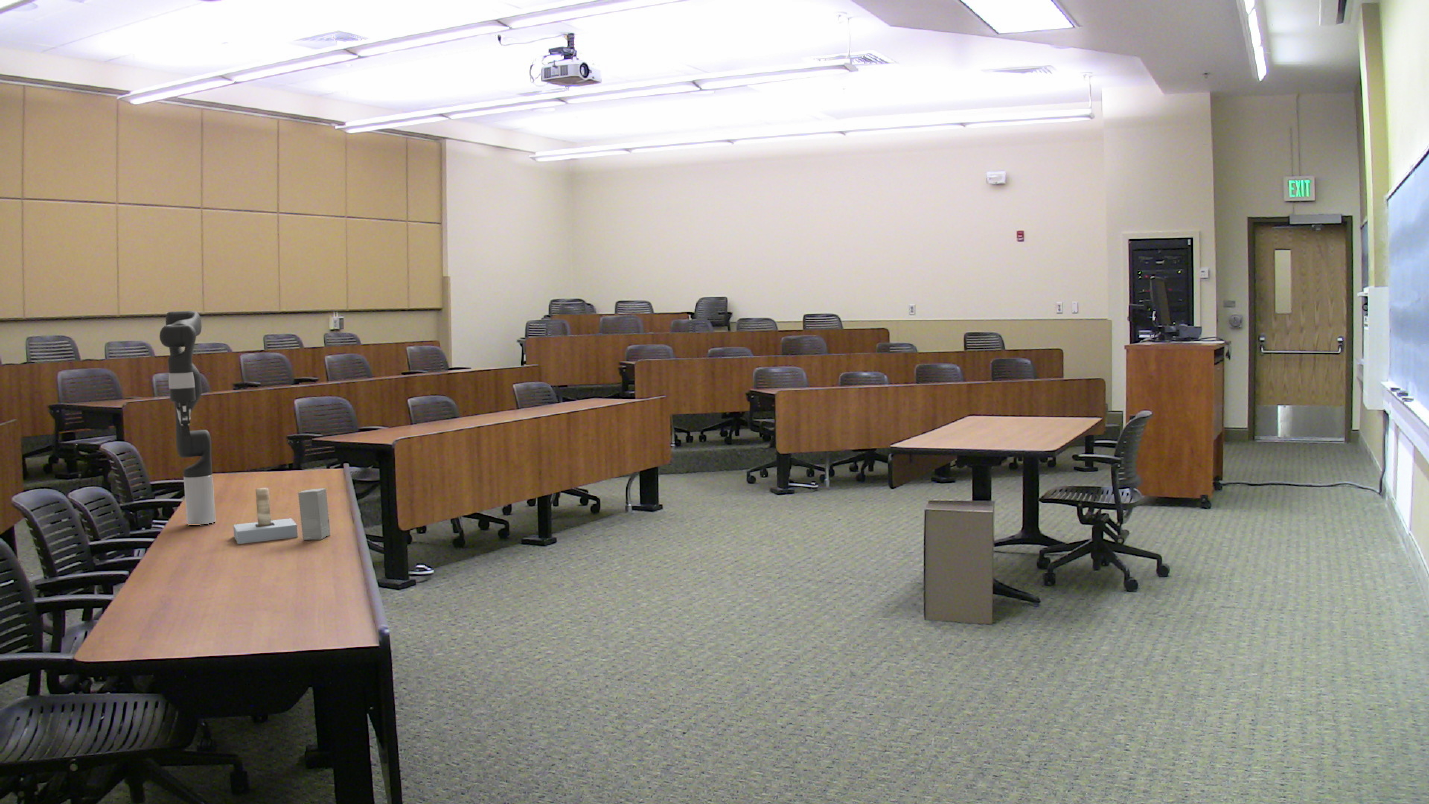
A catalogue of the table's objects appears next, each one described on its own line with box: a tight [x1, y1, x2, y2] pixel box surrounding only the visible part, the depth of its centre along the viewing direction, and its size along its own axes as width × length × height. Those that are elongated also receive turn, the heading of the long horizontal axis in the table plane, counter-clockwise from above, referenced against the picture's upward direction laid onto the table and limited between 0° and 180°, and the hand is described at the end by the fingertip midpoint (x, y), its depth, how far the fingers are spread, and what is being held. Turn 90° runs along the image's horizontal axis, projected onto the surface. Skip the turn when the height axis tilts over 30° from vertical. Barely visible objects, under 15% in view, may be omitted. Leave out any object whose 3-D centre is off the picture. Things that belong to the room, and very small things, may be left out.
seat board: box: [232, 517, 299, 545], centre depth 355 cm, size 14×18×4 cm
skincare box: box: [297, 487, 331, 541], centre depth 350 cm, size 8×7×16 cm
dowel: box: [255, 487, 272, 527], centre depth 354 cm, size 4×4×16 cm
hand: (185, 436), depth 353 cm, fingers open, 8 cm apart
